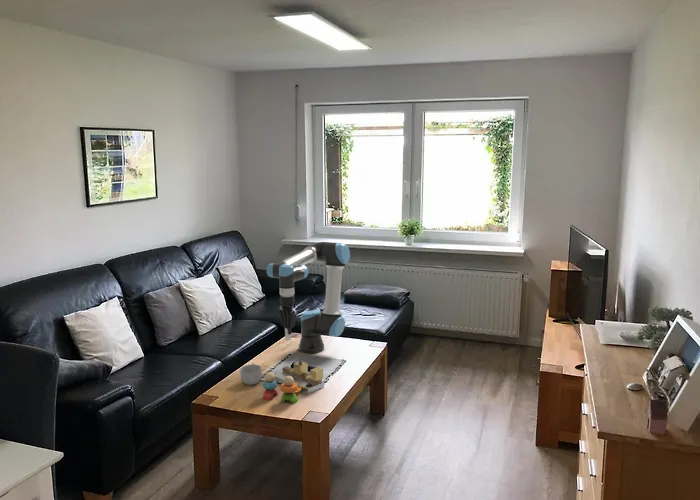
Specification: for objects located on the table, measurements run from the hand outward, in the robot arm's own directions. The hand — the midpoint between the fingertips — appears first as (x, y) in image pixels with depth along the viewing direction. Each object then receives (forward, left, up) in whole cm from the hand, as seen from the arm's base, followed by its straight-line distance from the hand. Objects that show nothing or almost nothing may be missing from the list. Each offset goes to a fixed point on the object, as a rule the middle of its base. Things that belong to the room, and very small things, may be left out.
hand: (288, 339), depth 293 cm
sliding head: (+2, +9, -17) cm, 20 cm away
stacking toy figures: (+18, +15, -21) cm, 31 cm away
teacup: (+16, -10, -21) cm, 28 cm away
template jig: (+3, +9, -20) cm, 23 cm away
